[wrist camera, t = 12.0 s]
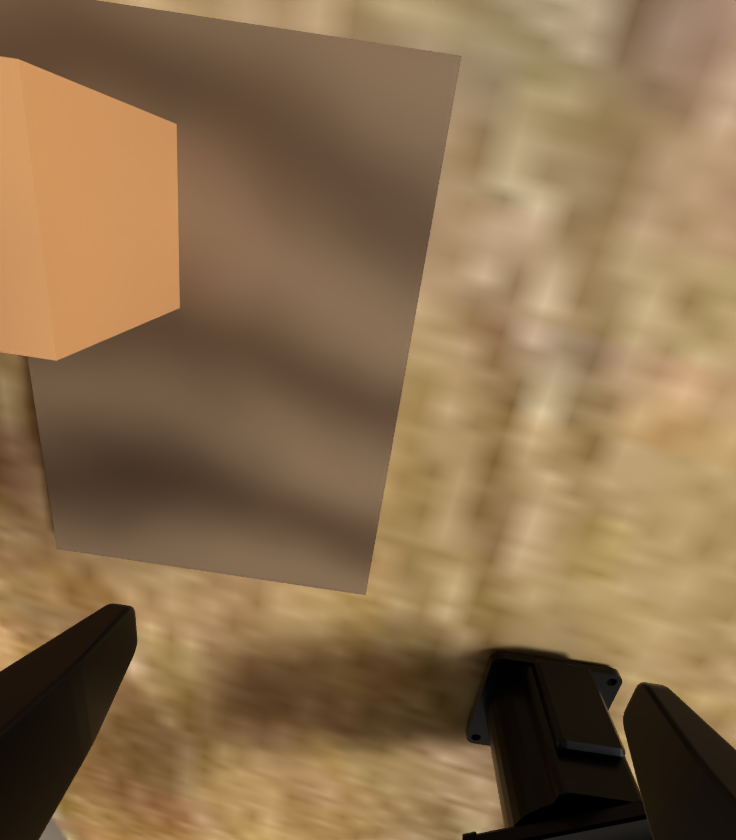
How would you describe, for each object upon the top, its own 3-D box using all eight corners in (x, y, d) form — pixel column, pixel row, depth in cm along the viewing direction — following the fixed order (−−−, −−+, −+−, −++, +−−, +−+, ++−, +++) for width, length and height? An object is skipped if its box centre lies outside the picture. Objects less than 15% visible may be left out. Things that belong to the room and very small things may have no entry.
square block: (179, 307, 17) (56, 360, 11) (21, 283, 17) (-192, 323, 11) (176, 124, 15) (18, 59, 8) (-6, 95, 14) (-296, 10, 8)
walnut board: (366, 576, 23) (365, 595, 21) (73, 532, 22) (56, 549, 21) (456, 68, 15) (461, 56, 13) (2, -2, 15) (-31, -19, 13)
